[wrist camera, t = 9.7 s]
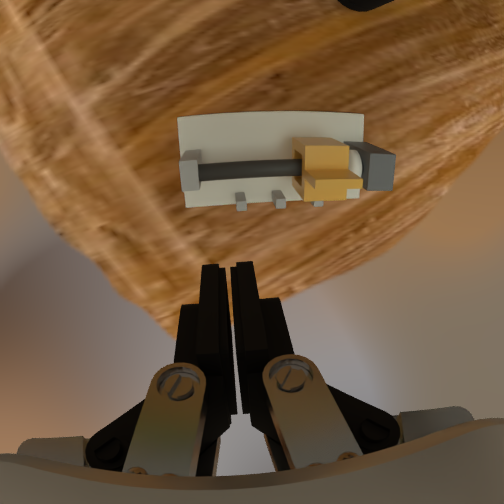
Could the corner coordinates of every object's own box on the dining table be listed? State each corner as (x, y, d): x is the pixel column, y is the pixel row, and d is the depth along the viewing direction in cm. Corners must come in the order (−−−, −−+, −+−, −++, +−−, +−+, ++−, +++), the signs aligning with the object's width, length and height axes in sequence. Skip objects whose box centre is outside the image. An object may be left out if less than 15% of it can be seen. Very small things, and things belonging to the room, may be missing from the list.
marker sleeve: (330, 137, 29) (365, 153, 22) (328, 184, 32) (359, 213, 24) (292, 137, 29) (316, 152, 22) (291, 185, 31) (313, 215, 24)
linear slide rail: (362, 113, 31) (398, 121, 24) (358, 194, 36) (388, 220, 29) (178, 116, 30) (165, 123, 23) (187, 204, 35) (178, 234, 28)
